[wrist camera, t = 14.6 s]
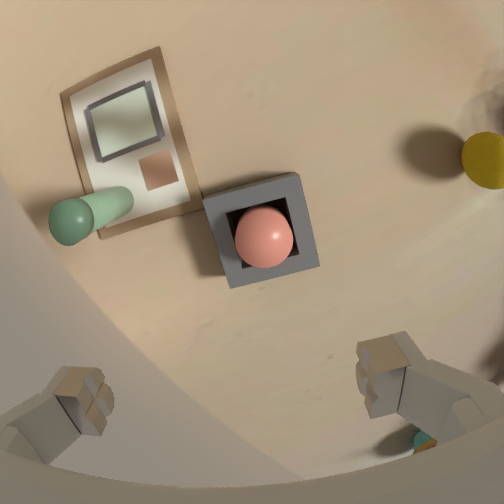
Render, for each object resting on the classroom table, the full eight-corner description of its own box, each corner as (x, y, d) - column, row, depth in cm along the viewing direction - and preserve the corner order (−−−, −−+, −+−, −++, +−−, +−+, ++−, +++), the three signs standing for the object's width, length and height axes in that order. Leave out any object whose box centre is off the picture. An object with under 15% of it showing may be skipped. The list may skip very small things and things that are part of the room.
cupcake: (398, 453, 41) (418, 507, 30) (409, 424, 38) (436, 482, 27) (440, 440, 41) (464, 488, 29) (454, 409, 38) (485, 460, 27)
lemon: (456, 190, 28) (505, 205, 20) (440, 141, 26) (490, 143, 18) (489, 172, 27) (537, 183, 19) (475, 125, 25) (524, 125, 18)
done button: (231, 211, 27) (228, 220, 24) (281, 198, 27) (285, 205, 23) (244, 259, 28) (243, 273, 25) (293, 246, 28) (298, 260, 25)
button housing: (207, 195, 28) (202, 200, 25) (294, 171, 27) (299, 174, 24) (232, 275, 30) (230, 288, 28) (313, 254, 30) (320, 266, 27)
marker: (129, 180, 27) (75, 194, 17) (139, 210, 28) (90, 238, 18) (102, 191, 27) (43, 209, 18) (112, 220, 28) (57, 250, 19)
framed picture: (62, 92, 24) (58, 92, 24) (160, 47, 24) (157, 44, 23) (103, 238, 29) (100, 241, 29) (205, 207, 28) (203, 208, 28)
